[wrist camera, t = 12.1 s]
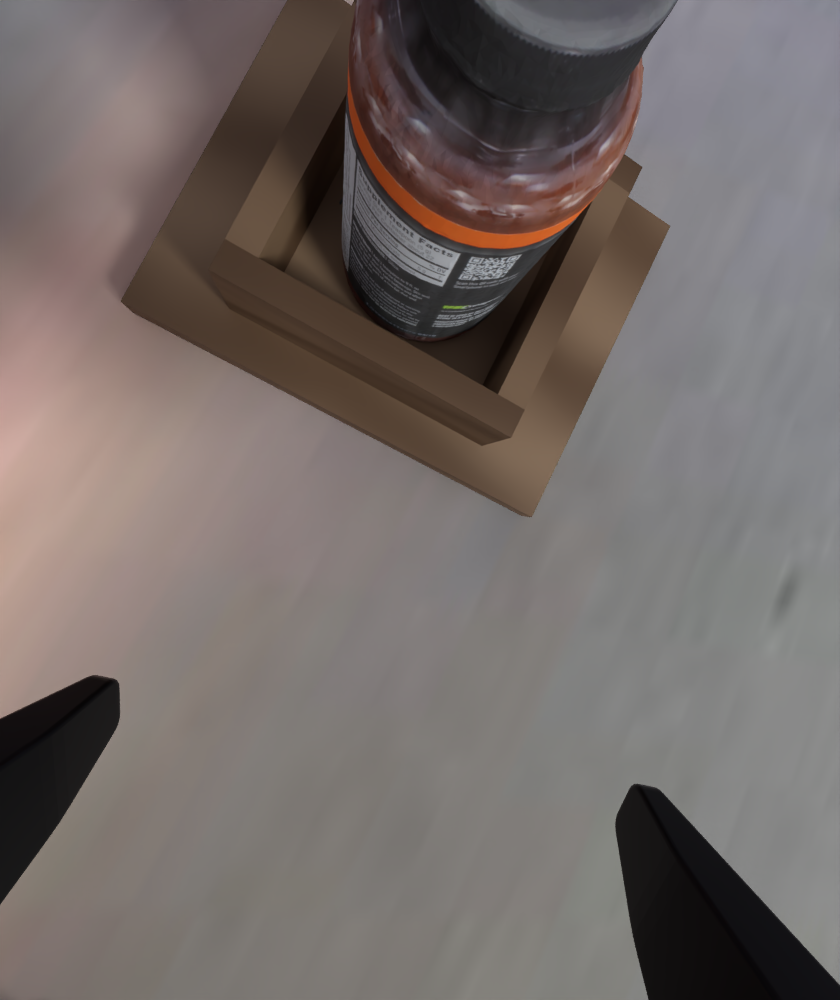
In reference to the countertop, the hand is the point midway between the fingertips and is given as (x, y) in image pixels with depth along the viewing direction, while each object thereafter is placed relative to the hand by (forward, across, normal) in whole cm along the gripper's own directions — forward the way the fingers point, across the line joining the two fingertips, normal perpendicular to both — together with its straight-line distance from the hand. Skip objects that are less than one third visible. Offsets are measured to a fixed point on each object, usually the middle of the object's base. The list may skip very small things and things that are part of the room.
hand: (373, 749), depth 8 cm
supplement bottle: (+13, +2, -9) cm, 16 cm away
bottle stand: (+14, +2, -8) cm, 17 cm away
